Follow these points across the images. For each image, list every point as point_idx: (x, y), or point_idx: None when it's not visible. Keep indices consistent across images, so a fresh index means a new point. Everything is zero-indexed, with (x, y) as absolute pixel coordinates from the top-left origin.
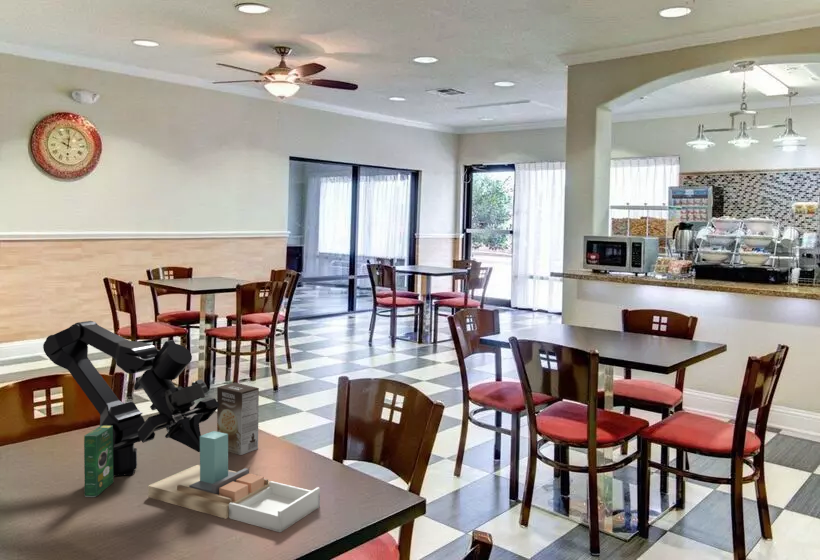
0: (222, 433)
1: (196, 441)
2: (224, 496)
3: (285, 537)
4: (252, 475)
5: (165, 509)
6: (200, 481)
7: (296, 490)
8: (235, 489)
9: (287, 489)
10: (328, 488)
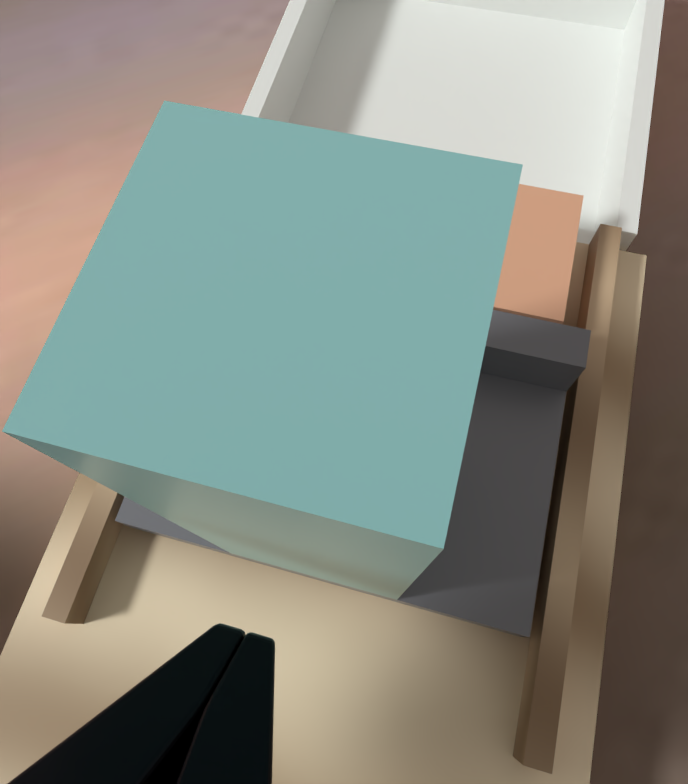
0: (150, 192)
1: (243, 759)
2: (594, 278)
3: (666, 4)
4: None
5: (658, 763)
6: (412, 585)
7: (305, 20)
8: (544, 207)
9: (286, 72)
10: (115, 18)
